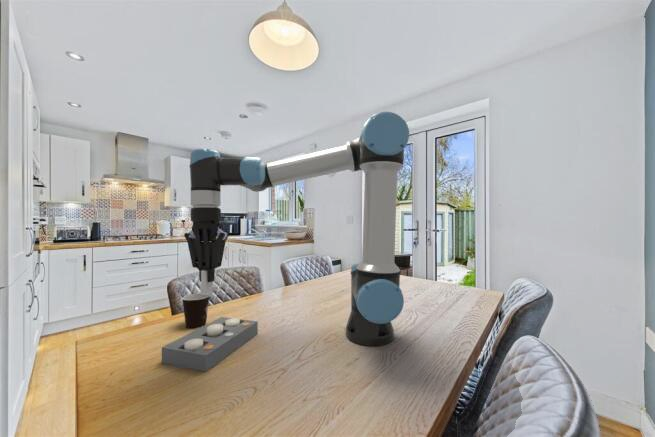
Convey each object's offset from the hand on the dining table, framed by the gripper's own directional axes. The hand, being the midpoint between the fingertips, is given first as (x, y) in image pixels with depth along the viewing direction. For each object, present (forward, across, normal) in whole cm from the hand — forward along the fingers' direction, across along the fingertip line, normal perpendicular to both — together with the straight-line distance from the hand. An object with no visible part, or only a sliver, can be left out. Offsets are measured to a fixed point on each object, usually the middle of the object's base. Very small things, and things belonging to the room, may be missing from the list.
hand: (207, 293), depth 73 cm
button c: (+14, +2, +3) cm, 15 cm away
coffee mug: (+17, +20, -18) cm, 32 cm away
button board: (+17, +2, -5) cm, 18 cm away
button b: (+13, +2, -5) cm, 14 cm away
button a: (+14, +2, -13) cm, 19 cm away
